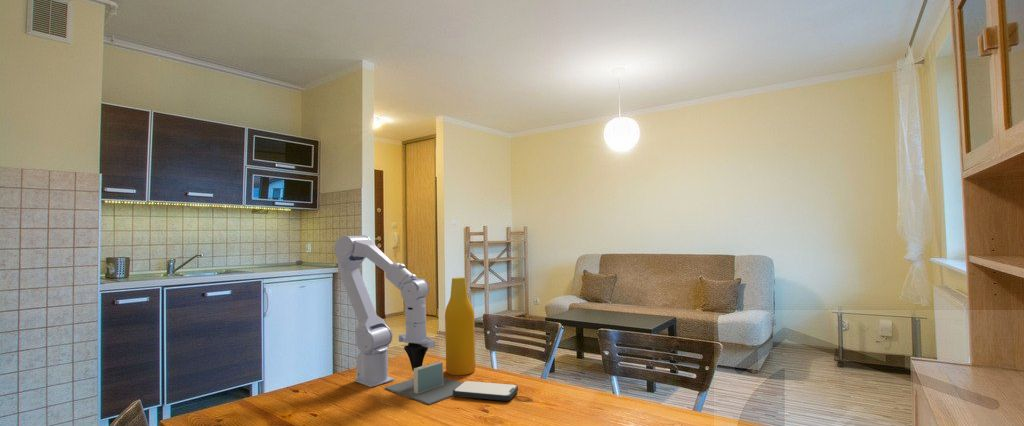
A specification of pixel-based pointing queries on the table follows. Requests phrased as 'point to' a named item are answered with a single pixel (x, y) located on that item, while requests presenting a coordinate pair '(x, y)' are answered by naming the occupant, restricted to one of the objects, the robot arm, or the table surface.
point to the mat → (429, 395)
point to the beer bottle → (459, 330)
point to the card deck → (428, 377)
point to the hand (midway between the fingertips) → (416, 370)
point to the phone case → (486, 390)
